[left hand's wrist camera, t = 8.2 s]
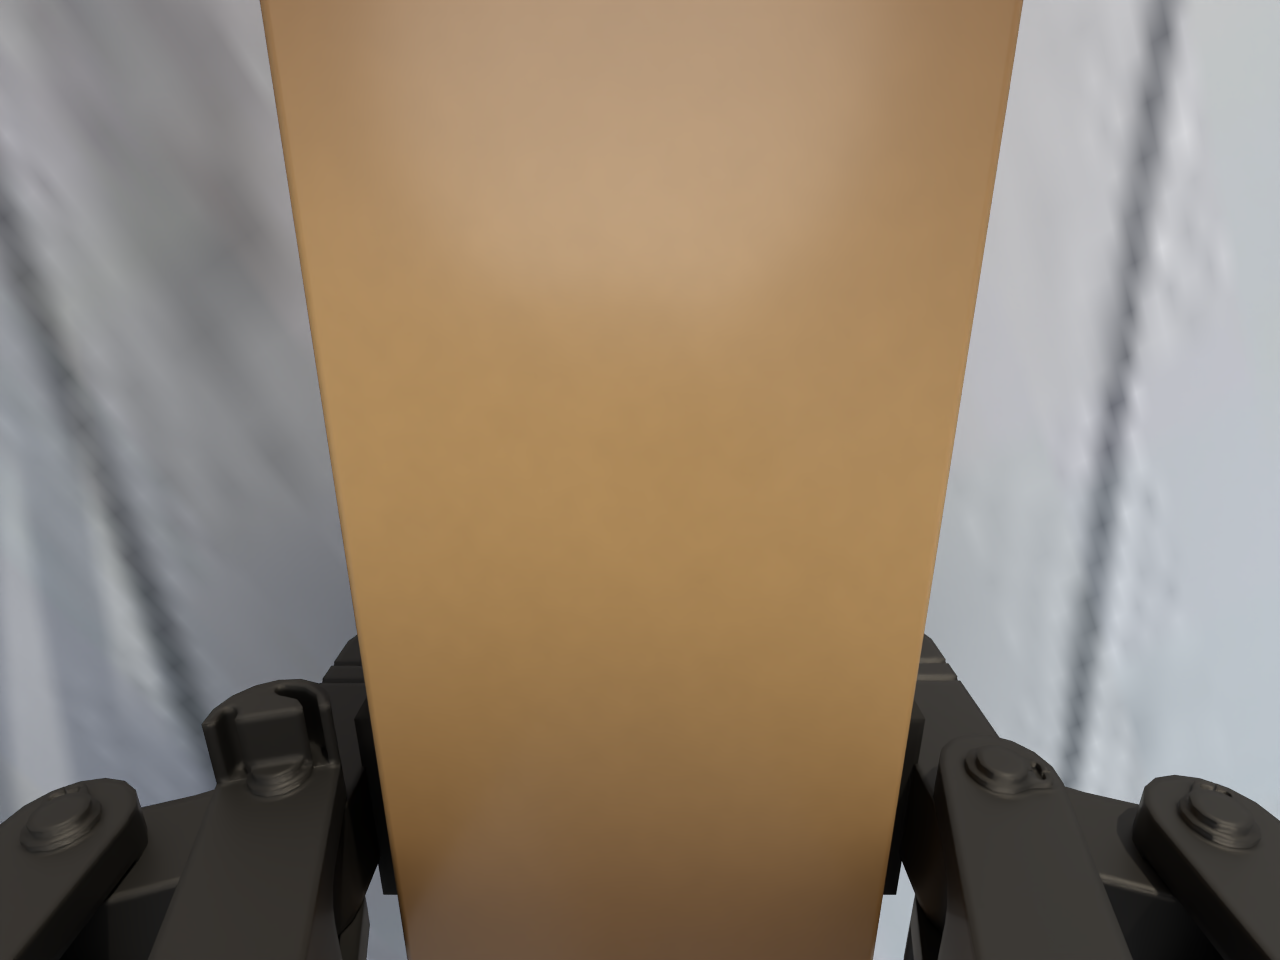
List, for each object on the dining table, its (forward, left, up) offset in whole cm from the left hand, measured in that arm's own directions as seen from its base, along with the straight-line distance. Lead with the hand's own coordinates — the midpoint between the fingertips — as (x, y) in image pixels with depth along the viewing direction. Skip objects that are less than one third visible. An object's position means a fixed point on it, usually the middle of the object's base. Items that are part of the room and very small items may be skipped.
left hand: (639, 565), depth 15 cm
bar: (-3, +28, -1) cm, 29 cm away
